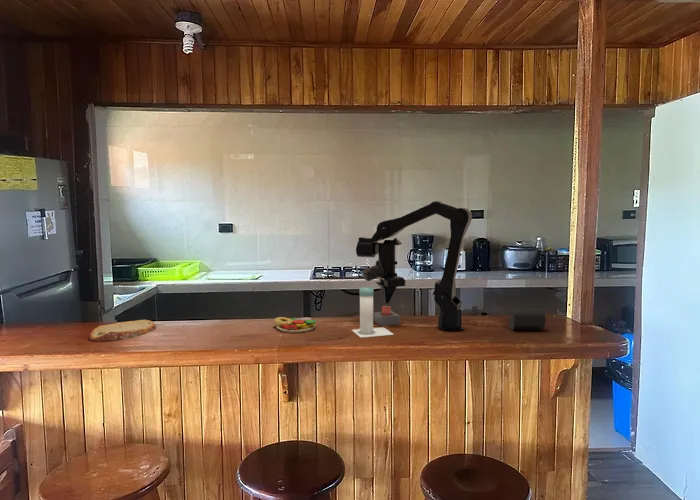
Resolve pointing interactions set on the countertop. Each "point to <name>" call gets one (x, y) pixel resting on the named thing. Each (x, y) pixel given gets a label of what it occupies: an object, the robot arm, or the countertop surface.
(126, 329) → the slice of bread
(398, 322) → the button housing
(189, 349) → the countertop surface
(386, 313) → the button
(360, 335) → the paper
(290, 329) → the toy food set
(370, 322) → the teal and white bottle
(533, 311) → the end cap
